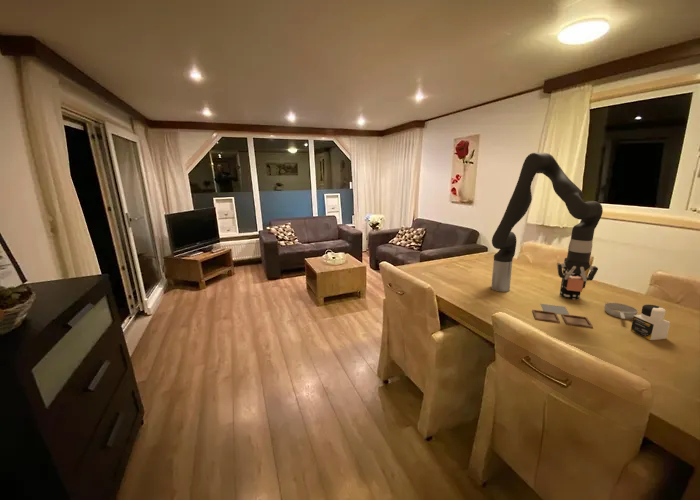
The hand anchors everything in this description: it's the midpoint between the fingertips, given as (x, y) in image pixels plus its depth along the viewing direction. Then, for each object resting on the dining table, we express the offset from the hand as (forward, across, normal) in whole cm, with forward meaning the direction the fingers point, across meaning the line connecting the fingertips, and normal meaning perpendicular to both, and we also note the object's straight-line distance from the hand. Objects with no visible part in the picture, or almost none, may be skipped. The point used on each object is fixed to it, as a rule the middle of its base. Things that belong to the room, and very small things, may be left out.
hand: (573, 287), depth 122 cm
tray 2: (+15, +2, -3) cm, 15 cm away
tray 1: (+15, -9, -3) cm, 17 cm away
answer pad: (+15, -4, +7) cm, 17 cm away
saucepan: (+15, +20, +8) cm, 26 cm away
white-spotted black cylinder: (+15, +6, +28) cm, 33 cm away
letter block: (0, 0, 0) cm, 0 cm away
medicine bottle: (+14, +24, -6) cm, 29 cm away
